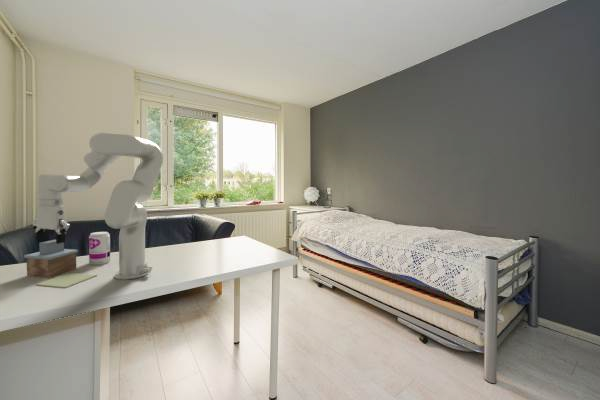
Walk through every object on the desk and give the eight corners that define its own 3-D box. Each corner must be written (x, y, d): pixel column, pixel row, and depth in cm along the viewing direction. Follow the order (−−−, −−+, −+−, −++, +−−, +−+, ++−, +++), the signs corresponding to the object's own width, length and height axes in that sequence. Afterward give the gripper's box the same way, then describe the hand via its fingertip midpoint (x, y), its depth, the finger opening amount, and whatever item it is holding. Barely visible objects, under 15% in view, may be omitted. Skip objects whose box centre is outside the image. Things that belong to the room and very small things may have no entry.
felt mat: (96, 275, 109) (96, 275, 109) (65, 288, 96) (65, 287, 96) (70, 273, 111) (70, 272, 111) (35, 285, 98) (35, 284, 98)
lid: (78, 254, 116) (77, 239, 116) (49, 262, 104) (48, 245, 104) (55, 252, 117) (54, 237, 117) (24, 260, 105) (23, 243, 105)
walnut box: (76, 269, 116) (76, 252, 115) (50, 278, 105) (49, 259, 105) (55, 267, 117) (54, 250, 117) (27, 276, 106) (26, 257, 106)
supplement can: (98, 266, 121) (98, 235, 120) (84, 264, 123) (84, 233, 122) (114, 261, 129) (114, 232, 128) (101, 259, 131) (100, 231, 130)
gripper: (77, 203, 112) (77, 241, 113) (42, 201, 114) (43, 238, 115) (59, 204, 105) (59, 245, 106) (22, 202, 106) (23, 242, 108)
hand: (50, 241), depth 110 cm, fingers open, 9 cm apart
